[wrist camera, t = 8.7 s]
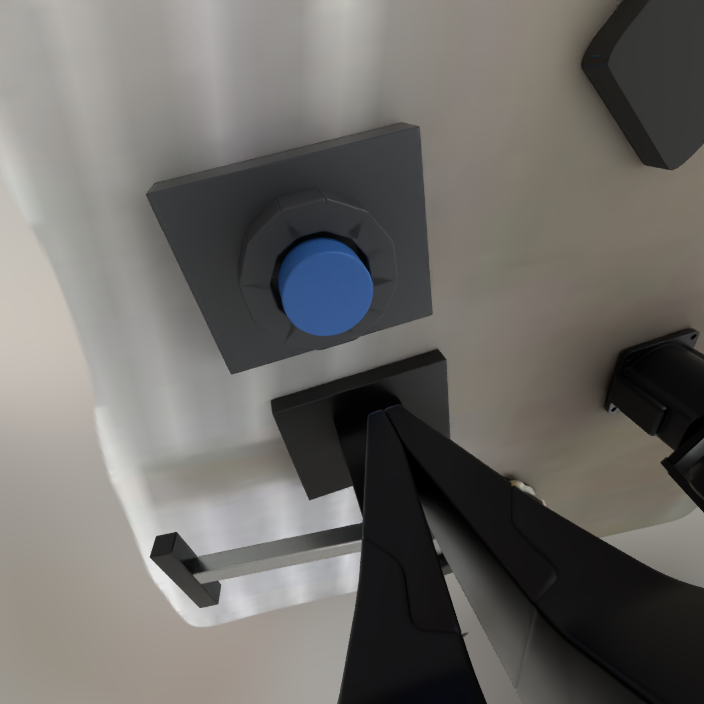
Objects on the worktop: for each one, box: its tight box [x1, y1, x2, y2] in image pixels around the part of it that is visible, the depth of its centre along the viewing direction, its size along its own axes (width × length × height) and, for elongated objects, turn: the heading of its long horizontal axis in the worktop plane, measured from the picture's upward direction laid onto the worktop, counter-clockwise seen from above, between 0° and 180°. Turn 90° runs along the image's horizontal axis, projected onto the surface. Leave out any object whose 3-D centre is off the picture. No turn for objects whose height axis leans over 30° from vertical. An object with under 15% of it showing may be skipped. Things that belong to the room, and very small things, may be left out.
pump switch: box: [146, 123, 432, 374], centre depth 18 cm, size 11×9×4 cm
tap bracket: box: [271, 350, 453, 575], centre depth 23 cm, size 11×9×10 cm
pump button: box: [278, 237, 373, 336], centre depth 16 cm, size 4×4×2 cm
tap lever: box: [150, 523, 442, 608], centre depth 21 cm, size 14×6×2 cm, turn 101°
